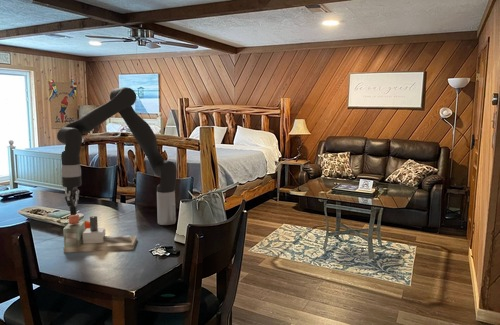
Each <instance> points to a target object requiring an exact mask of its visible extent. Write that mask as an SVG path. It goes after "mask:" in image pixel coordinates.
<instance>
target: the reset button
mask: <svg viewBox="0 0 500 325" xmlns="http://www.w3.org/2000/svg"><path fill="white" fill-rule="evenodd" d="M79 221H80V215H79V214H76V215H69V216H68V224H78V223H79Z"/></svg>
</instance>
